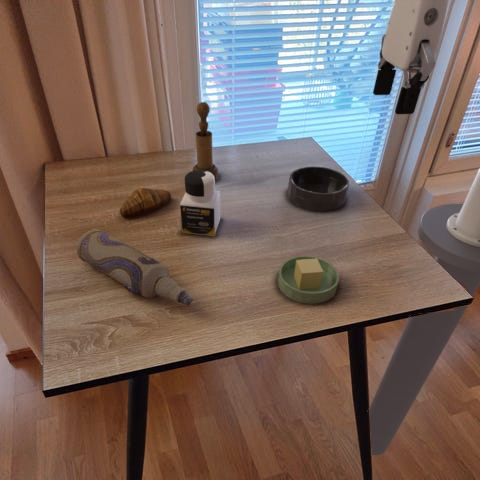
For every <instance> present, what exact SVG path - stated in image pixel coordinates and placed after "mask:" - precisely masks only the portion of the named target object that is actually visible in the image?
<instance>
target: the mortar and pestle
mask: <svg viewBox="0 0 480 480" xmlns="http://www.w3.org/2000/svg"><path fill="white" fill-rule="evenodd" d="M210 111H211V109H210V105H209V103H207V102H206V101H201V102H198V104H197V106H196V112H197V114H198V116H199V122H198V128H199V131H197V132H195V144H196V145H195V146H196V164H195V165H194V166H193V167H192V171H195V170H204V171H208V172H210V173H212V174H213V175H214V177H215V182H216V181H218V179H219V167H217V166H216V165H215V164H214V159H213V157H214V156H213V132H212V131H210V130H208V128H209V122H208V121H207V118H208V116H209V114H210Z"/></svg>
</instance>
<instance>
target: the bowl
mask: <svg viewBox="0 0 480 480" xmlns="http://www.w3.org/2000/svg"><path fill="white" fill-rule="evenodd" d="M287 187H288V188H287V198H288V200H289V201H290V202H291V203H292V204H293V205H294V206H296V207H298V208H299V209H303V210H306V211H310V212H316V213H317V212H318V213H326V212H331V211H332V212H333V211H335V210H339V209H340V208H341V207H342V206H343V205H344V204H345V202H346V199H347V196H348V195H347V194H348V191H349V187H350V181H349V179H348V177H347V176H346V175H345V174H343V173H342V172H340V171H338V170H335V169H333V168H329V167H326V166H325V167H324V166H316V165H315V166H304V167H299V168H298V169H294V170H293V171H292V172H291V173H290V174H289V179H288V186H287Z"/></svg>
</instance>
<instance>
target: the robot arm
mask: <svg viewBox="0 0 480 480" xmlns="http://www.w3.org/2000/svg"><path fill="white" fill-rule="evenodd" d="M448 2H449V0H394V1H393V5H392V8H391V11H390V15H389V19H388V22H387V25H386V31H385V34H383V35H382V37H381V43H380V44H381V47H380V51H379V61H378V64H377V72H376V73H377V74H376V78H375V82H374V86H373V91H372V95H374V96H390V95H391V93H392V89H393V85H394V81H395V78H396V73H397V70H396V69H398V70H400V71H401V72H403V82H404V86H401V87H400V91H399V94H398V99H397V102H396V106H395V109H394V113H395V114H396V115H412V114H414V113H415V111H416V107H417V104H418V100H419V97H420V94H421V90H422V89H423V88H424V87H425V85H426V82H427V81H428V80H429V78H430V75H431V73H432V72H433V70H434V69H435V66H436V60H435V58H436V55H437V52H438V48H439V45H440V40H441V37H442V32H443V28H444V24H445V20H446V14H447V9H448ZM395 68H396V69H395ZM412 74H414V75H413V76H412ZM462 204H463V206H462V209H461V211H460V213H457V214H454V215H452V216H451V217H450V218H449V219H448V221H447V229H448V231H449V232H450V233H451V234H452V235H453V236H454V237H455V238H457V239H458V240H460V241H462V242H464V243H466V244H469V245H472V246H476V247H480V168H478V171H477V173H476V175H475V178H474V179H473V182H472V184H471V186H470V189H469V190H468V194H467V195H466V198H465V200H464V202H463V203H462Z"/></svg>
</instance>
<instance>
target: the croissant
mask: <svg viewBox="0 0 480 480" xmlns="http://www.w3.org/2000/svg"><path fill="white" fill-rule="evenodd" d="M171 198H172V194H171V192H170V191H168V190H165V189H161V188H160V189H159V188H147V187H140V188H136V189H135V190H133V191H132V193H131V194H130V196H129V197H128V198H127V199H126V200H125V201H124V202H123V204H122V205H121V207H120V208H119V214H120V216H121V217H123V218H131V217H135V216H139V215H141V214H145V213H149V212H153V211H155V210H156V209H157V208H159V207H161V206H163V205H165V204H166V203H168V202H169V201H170V200H171Z"/></svg>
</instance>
